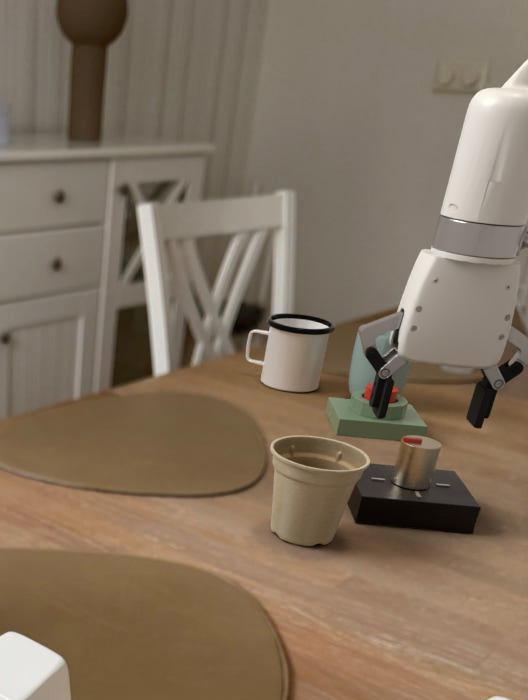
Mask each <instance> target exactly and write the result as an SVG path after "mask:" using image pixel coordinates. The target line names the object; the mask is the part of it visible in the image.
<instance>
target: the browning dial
mask: <svg viewBox="0 0 528 700" xmlns="http://www.w3.org/2000/svg"><path fill="white" fill-rule="evenodd" d="M441 449H442V443H441V442H440V441H438V440H436V439H434V438H431V437H428V436H425V437H424V436H416V435H409V436H404V437H402V439H401V441H400V444H399V448H398V451H397V455H396V457H395V461H394V462H395V463H394V465H393V466H394V469H393V473H392V477H391V480H392V482H393V483H395V484H396V485H398V486H401V487H404V488H408V489H414V490H424V489H428V488H429V487H430V485H431V481H432V478H433V474H434V471H435V469H436V467H437V463H438V460H439V457H440V453H441Z"/></svg>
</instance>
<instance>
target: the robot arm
mask: <svg viewBox="0 0 528 700" xmlns="http://www.w3.org/2000/svg"><path fill="white" fill-rule="evenodd" d="M527 222H528V58H527V59H526V60H525V61H524V62H523V63H522V64H521V65H520V67H519V68H517V70H515V72H514V73H513V74H512V75H511V76H510V77H509V78H508V79H507V81H505V82H504V84H503V85H502V86H501V87H487V88H484V89H480V90H479V91H477V92H476V93H475V94H474V96H473V97H472V98H471V100H470V102H469V103H468V107H467V109H466V114H465V117H464V120H463V125H462V129H461V132H460V136H459V141H458V143H457V148H456V152H455V156H454V159H453V163H452V167H451V171H450V175H449V179H448V183H447V185H446V189H445V193H444V198H443V201H442V204H441V209H440V213H439V216H438V220H437V224H436V228H435V231H434V235H433V238H432V243H431V246H430V249H429V248H423V249H421V250H420V252H419V253H418V256H417V258H416V260H415V262H414V265H413V267H412V270H411V272H410V274H409V277H408V279H407V282H406V285H405V287H404V290H403V293H402V296H401V298H400V302H399V305H398V308H397V311H396V312H393V313H392V314H388V315H386V316H383V317H380V318H379V319H375V320H373V321H371V322H367V323H365V325H364V324H361V325H362V326H361V325H360V326H361V327H360V326H359V327H360V328H359V327H358V329H357V332H358V334H359V338H360V342H361V345H362V349H363V353H364V355H365V357H366V358H367V360H368V361H369V362H370V364H371V365H372V367H373V368H374V370H375V371H376V375H375V379H374V383H373V387H372V391H371V395H370V399H369V406H370V407H372V411H373V412H374V414H375V416H376V417H377V418H379V419H383V418H385V417H386V413H387V409H388V405H389V402H390V398H391V394H392V390H393V386H394V380H393V379H392V374H393V373H395V372H396V371H397V370H398V369H399V368H401V367H402V366H403V365H404V364H406V363H407V362H408V361H409V362H413V363H415V364H423V365H424V364H425V365H434V366H444V367H452V368H453V367H454V368H462V369H463V368H465V369H475V370H476V369H478V370H479V371H480V374H481V376H482V379H481V380H478V382H476V383H475V387H474V390H473V393H472V397H471V400H470V404H469V406H468V410H467V413H466V416H465V418H466V421H468V423H469V424H470V426H472V427H473V428H474V429H480V430H481V429H482V427H483V425H484V421H485V420H487V419H489V418H490V416H491V412H492V409H493V406H494V403H495V401H496V396H497V394H498V391H500V390H502V389H503V388H504V387H505V385H506V384H507V383H509V382H510V381H512V380H514V378H516V377H518V376H519V375H521V374H522V373H523V371H524V369H525V368H526V366H528V336H526V335H525V334H523V333H522V332H521V331H520V330H518V329H517V328H515V326H512V323H513V319H514V314H515V309H516V304H517V298H518V291H519V284H520V276H521V266H522V265H521V264H522V263H521V262H520V261H519V260H518V259H516V257H519V256H520V252H521V251H522V250H525V249H526V248H527V249H528V226H527ZM390 331H391V335H390V346H391V347H392V348H391V349H390V350H389V351H388V352H386V353H385V354H384V355H383V356H381V355H380V353H379V352H378V350H377V346H376V338H377V337H378V336H380V335H382V334H385V333H388V332H390ZM508 342H509V343H511V345H513V346H514V347H515V348H516V352H515V353H514V354H513V356H512V357H511V358H510V359H508V360H507V361H505V362H504V363H502V364H500V365H499V366H498V364H499V363H500V362H501V359H502V357H503V355H504V352H505V349H506V347H507V343H508Z"/></svg>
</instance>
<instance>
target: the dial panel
mask: <svg viewBox="0 0 528 700" xmlns="http://www.w3.org/2000/svg"><path fill="white" fill-rule="evenodd" d="M394 466H395V465H392V464H379V463H371V462H370V465H369V467H368V468H367V469H365V470H364V471H363V473H362V476H361V478H360V479H359V480H358V481H357V482H356V484H355V486H354V489H353V491H352V493H351V496H350V498H349V500H348V503H347V506H348V509H349V511H350V513H351V516H352V518H353V520H354V523H355V524H364V525H374V526H375V525H376V526H385V527H396V528H406V529H408V528H409V529H418V530H427V531H440V532H451V533H461V534H470V535H471V534H472V535H473V534H474V530H475V527H476V525H477V522H478V519H479V515H480V512H481V509H482V506H481V505H480V504H479V502H478V501H477V500H476V498H475V497H474V495H473V494H472V493H471V491H470V489H469V488H468V487H467V486H466V484H465V483H464V481H462V479H461V478H460V476H459V475H458V473H457V472H456V471H455V470H448V469H447V470H446V469H437V468H435V471H434V474H433V478H432V481H431V485H430V487H429V488H428V489H424V490H414V489H408V488H404V487H401V486H398V485H396V484H395V483H393V482H392V480H391V477H392V473H393V469H394Z"/></svg>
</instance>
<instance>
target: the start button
mask: <svg viewBox="0 0 528 700" xmlns="http://www.w3.org/2000/svg"><path fill="white" fill-rule="evenodd" d="M372 387H373V383H369V384H367V385H366V389H365V393H364V397H363V398H365V399H367V400H369V399H370V395H371V391H372ZM397 394H398V388H396V387H394V386H393V390H392V394H391V398H390V402H389V404H390V403H395V402H396V398H397Z"/></svg>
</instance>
